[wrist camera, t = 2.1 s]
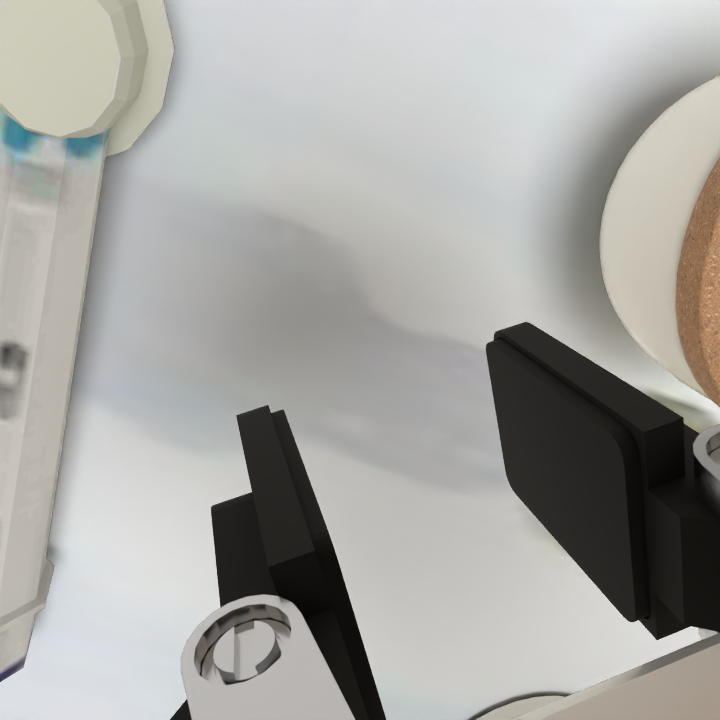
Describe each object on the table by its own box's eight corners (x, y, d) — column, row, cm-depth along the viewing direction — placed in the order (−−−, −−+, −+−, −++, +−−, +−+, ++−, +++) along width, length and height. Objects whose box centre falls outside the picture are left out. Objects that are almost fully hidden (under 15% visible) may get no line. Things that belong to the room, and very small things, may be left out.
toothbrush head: (-128, 697, 23) (-77, -150, 13) (-64, 557, 29) (5, -108, 19) (37, 701, 25) (191, -45, 15) (67, 568, 31) (192, -36, 21)
